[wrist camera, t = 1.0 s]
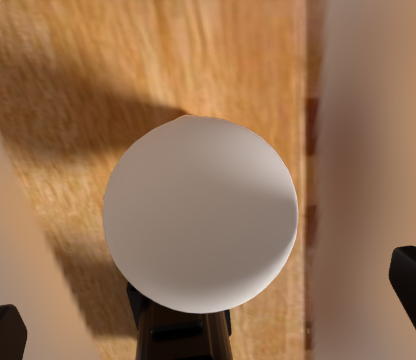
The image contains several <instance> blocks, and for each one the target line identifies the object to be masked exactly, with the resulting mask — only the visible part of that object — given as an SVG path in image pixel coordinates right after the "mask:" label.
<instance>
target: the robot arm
mask: <svg viewBox="0 0 416 360" xmlns="http://www.w3.org/2000/svg"><path fill="white" fill-rule="evenodd" d="M389 280H390V283H391V285H392V287H393V289H394V291H395V292H396V294H397V296H398V298H399V300H400V302H401V303H402V305H403V307H404V309H405V311H406V313H407V314H408V316H409V318H410V320H411V322H412V324H413V326H414V327H415V329H416V247H415V246H403V247H397V248H395V249H394V250H393V253H392V258H391V263H390V268H389ZM132 286H133V285H132V284H131V283H130V282H129V281H128V283H127V293H128V297H129V300H130V304H131V308H132V311H133V315H134V318H135V322H136V326H137V329H138V339H137V349H136V359H135V360H233V357H232V352H231V346H230V341H229V336H230V335H231V333H232V332H231V321H230V311H229V309H227V310H223V311H219V312H212V313H187V312H182V311H177V310H173V309H171V308H168V307H166V306H163V305H161V304H159V303H157V302H155V301H153V300H151V299H150V298H148V297H146V296H145V295H143V294H142V293H141V292H139V291H138V290H137V289H136V288H135V287H132ZM26 341H27V329H26V326H25V324H24V322H23V320H22V318H21V316H20V314H19V312H18V310H17V308H16V307H15V306H14V305H12V304H8V305H1V306H0V360H22V358H23V353H24V349H25V345H26Z"/></svg>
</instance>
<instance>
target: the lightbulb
mask: <svg viewBox="0 0 416 360" xmlns="http://www.w3.org/2000/svg"><path fill="white" fill-rule="evenodd" d="M297 226H298V205H297V196H296V192H295V188H294V185H293V182H292V179H291V176H290V173H289V171H288V169H287V168H286V166H285V164H284V163H283V161H282V160H281V158H280V157H279V155H278V154H277V153H276V151H275V150H274V149H273V148H272V147H271V146H270V145H269V144H268V143H267V142H266V141H265V140H264V139H263V138H262V137H260V136H259V135H257V134H255V133H254V132H252V131H251V130H249V129H248V128H246V127H243V126H240V125H238V124H235V123H232V122H230V121H227V120H224V119H219V118H212V117H199V116H197V115H183V116H180V117H178V118H176V119H175V120H173V121H169V122H167V123H165V124H163V125H161V126H158V127H156V128H154V129H152V130H151V131H149V132H148V133H147V134H145V135H144V136H142V137H141V138H140V139H138V140H137V141H136V142H134V143H133V144H132V145H131V146H130V148H129V149H128V150H127V151H126V152H125V153H124V154H123V155H122V156H121V158H120V159H119V161H118V163H117V164H116V166H115V168H114V170H113V171H112V173H111V176H110V179H109V182H108V185H107V188H106V191H105V195H104V199H103V227H104V233H105V239H106V242H107V245H108V248H109V251H110V253H111V255H112V258H113V260H114V262H115V265H116V266H117V267H118V269H119V270H120V271H121V273H122V274H123V276H124V277H125V278H126V279H127V280H128V281H129V282H130V283H131V284H132V285H133V286H134V287H135V288H136V289H137V290H138V291H139V292H141V293H142V294H143V295H145V296H146V297H148V298H150V299H151V300H153V301H155V302H157V303H159V304H161V305H163V306H166V307H168V308H171V309H173V310H177V311H182V312H187V313H212V312H219V311H223V310H227V309H231V308H233V307H236V306H238V305H241V304H243V303H245V302H247V301H248V300H250V299H252V298H254V297H255V296H256V295H257V294H259V293H260V292H261V291H263V290H264V289H265V288H266V287H267V286H268V285H269V284H270V283H271V282H272V280H273V279H274V278H275V277H276V276H277V275H278V274H279V272H280V271H281V269H282V268H283V266H284V264H285V263H286V261H287V259H288V257H289V255H290V253H291V250H292V247H293V244H294V242H295V239H296V233H297Z"/></svg>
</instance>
